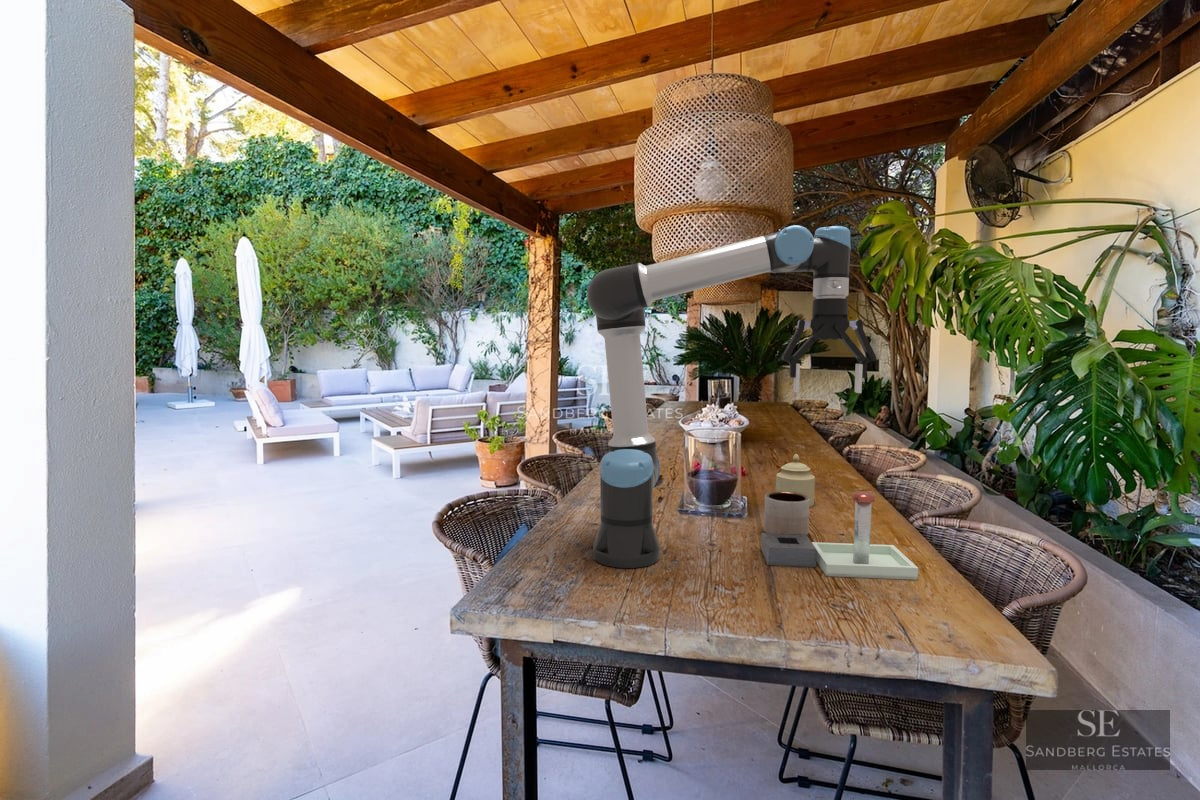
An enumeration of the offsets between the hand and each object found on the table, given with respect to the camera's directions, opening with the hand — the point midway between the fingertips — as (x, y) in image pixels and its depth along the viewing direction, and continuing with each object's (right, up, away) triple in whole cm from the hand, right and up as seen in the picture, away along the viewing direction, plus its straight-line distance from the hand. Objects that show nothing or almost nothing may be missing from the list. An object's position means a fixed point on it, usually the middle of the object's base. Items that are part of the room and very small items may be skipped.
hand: (826, 392), depth 140 cm
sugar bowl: (+6, -33, +46) cm, 56 cm away
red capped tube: (+5, -37, -7) cm, 38 cm away
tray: (+5, -38, -7) cm, 39 cm away
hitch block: (-10, -37, -2) cm, 38 cm away
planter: (-5, -36, +15) cm, 39 cm away
